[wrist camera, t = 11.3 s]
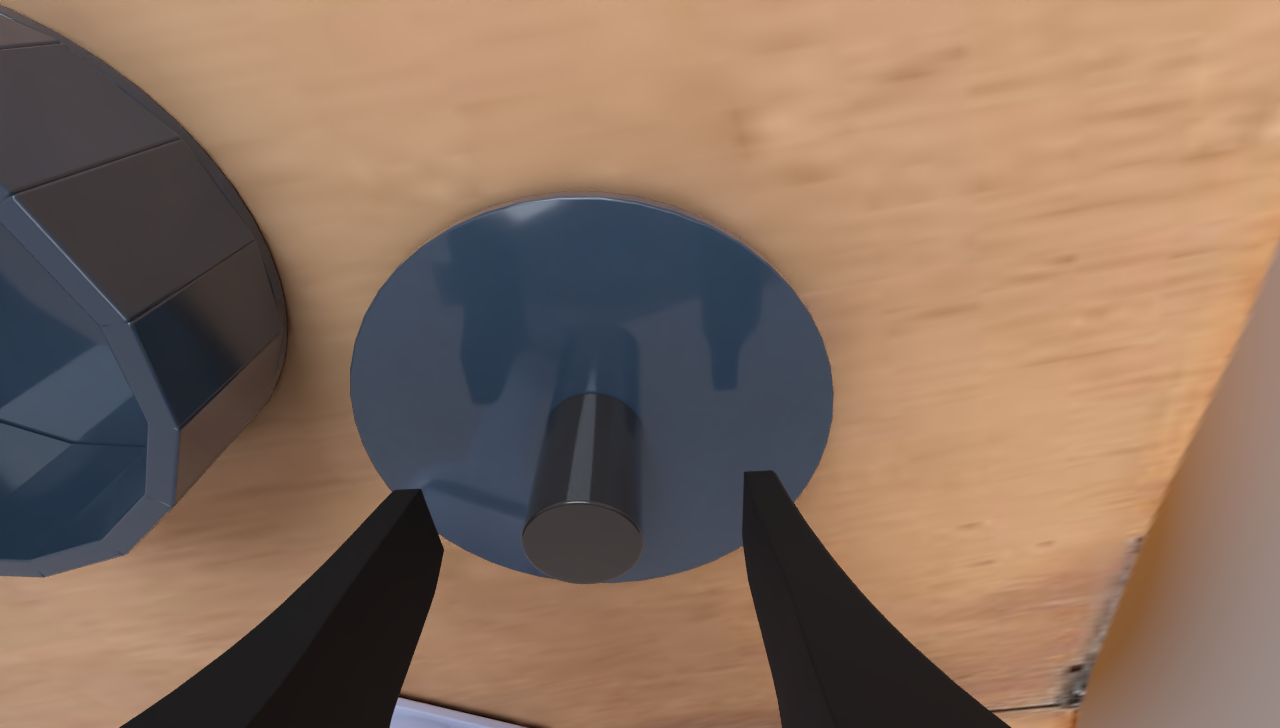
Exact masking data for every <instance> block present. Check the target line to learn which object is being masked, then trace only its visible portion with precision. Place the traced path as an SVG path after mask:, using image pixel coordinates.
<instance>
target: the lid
mask: <svg viewBox="0 0 1280 728" xmlns="http://www.w3.org/2000/svg"><path fill="white" fill-rule="evenodd" d="M350 396H351V401H352V407H353V413H354V419H355V423H356V426H357V429H358V432H359V435H360V438H361V441H362V444H363V446H364V448H365V450H366V452H367V454H368V456H369V458H370V460H371V462H372V464H373V466H374V467H375V469H376V470H377V472H378V473H379V475H380V476H381V478H382V479H383V480H384V482H385V483H386V485H387V486H388V488H389V489H390V490H391V491H392V492H393V491H394V490H401V489H421V490H422V493H423V495H424V498H425V501H426V503H427V506H428V509H429V511H430V514H431V517H432V519H433V522H434V525H435V527H436V530H437V533H438V534H440V535H441V536H442V537H444V538H445V539H447V540H449V541H450V542H452V543H454V544H456V545H457V546H459V547H461V548H463V549H464V550H466V551H468V552H470V553H472V554H475V555H477V556H479V557H481V558H483V559H486V560H488V561H490V562H492V563H495V564H498V565H501V566H504V567H507V568H510V569H513V570H516V571H519V572H523V573H527V574H531V575H535V576H539V577H545V578H551V579H557V580H560V581H564V582H568V583H575V584H595V583H620V582H631V581H642V580H647V579H653V578H659V577H664V576H668V575H672V574H676V573H680V572H683V571H687V570H690V569H693V568H696V567H699V566H701V565H704V564H707V563H709V562H712V561H714V560H716V559H718V558H720V557H722V556H724V555H727V554H729V553H731V552H733V551H735V550H736V549H738V548H740V547H741V546H743V540H742V519H743V488H744V472H748V471H768V470H772V471H774V472H775V473H776V474H777V475H778V477H779V479H780V481H781V483H782V485H783V486H784V488H785V490H786V491H787V493H788V495H789V496H790V498H791V500H792V501H793V503H794V502H795V500H796V499H797V498H798V497H799V495H800V494H801V493H802V491H803V490H804V489H805V487H806V486H807V484H808V483H809V481H810V479H811V477H812V476H813V474H814V472H815V470H816V468H817V467H818V465H819V462H820V460H821V457H822V454H823V452H824V449H825V447H826V444H827V441H828V436H829V431H830V427H831V422H832V417H833V396H834V391H833V382H832V374H831V366H830V362H829V359H828V356H827V352H826V349H825V345H824V342H823V339H822V337H821V335H820V333H819V331H818V329H817V327H816V324H815V322H814V320H813V318H812V316H811V314H810V312H809V310H808V308H807V306H806V305H805V304H804V302H803V301H802V299H801V298H800V296H799V295H798V294H797V292H796V291H795V289H794V288H793V286H792V285H791V284H790V282H789V281H788V280H787V279H786V278H785V277H784V276H783V275H782V274H781V273H780V272H779V270H778V269H777V268H776V267H775V266H774V265H773V264H772V263H771V262H770V261H769V260H768V259H767V258H766V257H765V256H763V255H762V254H761V253H759V252H758V251H757V250H756V249H754V248H753V247H752V246H750V245H749V244H748V243H747V242H745V241H744V240H743V239H741V238H740V237H738V236H737V235H735V234H733V233H731V232H730V231H728V230H726V229H725V228H723V227H721V226H719V225H718V224H716V223H714V222H712V221H711V220H709V219H706V218H704V217H701V216H699V215H696V214H694V213H691V212H689V211H687V210H684V209H682V208H679V207H677V206H674V205H670V204H666V203H662V202H658V201H655V200H651V199H647V198H643V197H639V196H632V195H624V194H616V193H608V192H557V193H549V194H542V195H535V196H528V197H522V198H519V199H515V200H512V201H508V202H505V203H501V204H498V205H494V206H490V207H488V208H485V209H483V210H481V211H478V212H476V213H474V214H472V215H469V216H467V217H465V218H463V219H460V220H458V221H456V222H454V223H453V224H451V225H450V226H448V227H446V228H445V229H443V230H442V231H440V232H439V233H437V234H435V235H434V236H432V237H431V238H429V239H428V240H426V241H425V242H424V243H423V244H422V245H421V246H420V247H418V248H417V249H416V250H415V251H414V252H413V253H412V254H410V255H409V256H408V257H407V258H406V259H405V260H404V261H403V262H402V263H401V264H400V265H399V266H398V268H397V269H396V270H395V271H394V272H393V274H392V275H391V276H390V277H389V278H388V280H387V281H386V282H385V283H384V285H383V286H382V287H381V288H380V289H379V291H378V292H377V294H376V296H375V298H374V299H373V301H372V303H371V305H370V306H369V308H368V310H367V312H366V313H365V315H364V318H363V321H362V323H361V326H360V329H359V332H358V335H357V337H356V340H355V344H354V350H353V356H352V362H351V368H350Z"/></svg>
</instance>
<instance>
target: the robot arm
mask: <svg viewBox="0 0 1280 728" xmlns="http://www.w3.org/2000/svg"><path fill="white" fill-rule="evenodd" d="M742 540H743V547H744V554H745V561H746V568H747V575H748V581H749V585H750V589H751V593H752V597H753V601H754V605H755V609H756V613H757V617H758V621H759V625H760V629H761V633H762V637H763V641H764V645H765V649H766V653H767V657H768V661H769V664H770V668H771V672H772V676H773V680H774V685H775V690H776V695H777V699H778V705H779V711H780V717H781V723H782V728H1011V727H1010V726H1009V725H1007V724H1006V723H1005V722H1003V721H1002V720H1001V719H999V718H998V717H997V716H996V715H994V714H993V713H992V712H990V711H989V710H988V709H987V708H985V707H984V706H983V705H982V704H980V703H979V702H978V701H977V700H976V699H974V698H973V697H972V696H971V695H969V694H968V693H967V692H966V691H965V690H963V689H962V688H961V687H960V686H958V685H957V684H956V683H955V682H954V681H953V680H951V679H950V678H949V677H948V676H947V675H946V674H945V673H944V672H942V671H941V670H940V669H939V668H938V667H937V666H936V665H935V664H934V663H932V662H931V661H930V660H929V659H928V658H927V657H926V656H925V655H923V654H922V653H921V652H920V651H919V650H918V649H917V648H916V647H915V646H913V645H912V644H911V643H910V642H909V641H908V640H907V639H906V638H905V637H904V636H903V635H902V634H901V633H900V632H899V631H898V630H897V629H896V628H895V627H894V626H893V625H892V624H891V623H890V622H889V621H888V620H887V619H886V618H885V617H884V616H883V615H882V614H881V613H880V612H879V611H878V610H877V608H876V607H875V606H874V605H873V604H872V603H871V602H870V601H869V600H868V599H867V598H866V597H865V595H864V594H863V593H862V592H861V591H860V590H859V589H858V588H857V586H856V585H855V584H854V583H853V582H852V581H851V579H850V578H849V577H848V576H847V575H846V573H845V572H844V571H843V570H842V569H841V567H840V566H839V565H838V564H837V562H836V561H835V560H834V559H833V557H832V556H831V555H830V554H829V552H828V551H827V550H826V548H825V547H824V546H823V544H822V543H821V541H820V540H819V539H818V537H817V536H816V535H815V533H814V532H813V531H812V529H811V528H810V526H809V525H808V524H807V522H806V521H805V519H804V518H803V516H802V515H801V513H800V512H799V510H798V509H797V507H796V506H795V504H794V503H793V501H792V500H791V498H790V496H789V495H788V493H787V491H786V490H785V488H784V486H783V485H782V483H781V481H780V479H779V477H778V475H777V474H776V473H775V472H774V471H772V470H768V471H748V472H744V488H743V519H742ZM443 552H444V549H443V546H442V543H441V541H440V538H439V535H438V533H437V530H436V527H435V525H434V522H433V519H432V517H431V514H430V511H429V509H428V506H427V503H426V501H425V498H424V495H423V493H422V490H421V489H401V490H394V491H393V492H392V493H391V494H390V495H389V496H388V497H387V498H386V499H385V500H384V501H383V502H382V503H381V504H380V505H379V506H378V507H377V508H376V510H375V511H374V512H373V513H372V514H371V515H370V516H369V517H368V518H367V519H366V520H365V521H364V522H363V523H362V524H361V526H360V527H359V528H358V529H357V530H356V531H355V532H354V533H353V534H352V535H351V536H350V537H349V538H348V539H347V540H346V541H345V542H344V543H343V544H342V546H341V547H340V548H339V549H338V550H337V551H336V552H335V553H334V554H333V555H332V556H331V557H330V558H329V559H328V560H327V561H326V562H325V563H324V564H323V565H322V566H321V567H320V568H319V569H318V570H317V571H316V572H315V573H314V574H313V575H312V576H311V577H310V578H309V579H308V580H307V581H305V582H304V583H303V584H302V585H301V586H300V587H299V588H298V589H297V590H296V591H295V592H294V593H293V594H292V595H291V596H290V597H289V598H288V599H287V600H286V601H285V602H284V603H283V604H281V605H280V606H279V607H278V608H277V609H276V610H275V611H274V612H273V613H271V614H270V615H269V616H268V617H267V618H266V619H265V620H263V621H262V622H261V623H260V624H259V625H258V626H256V627H255V628H254V629H253V630H252V631H250V632H249V633H248V634H247V635H246V636H244V637H243V638H242V639H241V640H240V641H238V642H237V643H236V644H235V645H233V646H232V647H231V648H230V649H228V650H227V651H226V652H225V653H223V654H222V655H221V656H219V657H218V658H217V659H215V660H214V661H213V662H211V663H210V664H209V665H207V666H206V667H205V668H203V669H202V670H201V671H199V672H198V673H197V674H195V675H194V676H193V677H191V678H190V679H189V680H187V681H186V682H185V683H183V684H182V685H181V686H179V687H178V688H177V689H175V690H174V691H173V692H171V693H170V694H168V695H167V696H165V697H164V698H163V699H161V700H160V701H158V702H157V703H155V704H154V705H152V706H151V707H149V708H148V709H147V710H145V711H144V712H142V713H141V714H139V715H138V716H136V717H135V718H133V719H132V720H130V721H129V722H127V723H125V724H124V725H122V726H121V727H119V728H528V727H523V726H519V725H515V724H511V723H506V722H502V721H498V720H494V719H489V718H485V717H481V716H477V715H472V714H468V713H464V712H460V711H455V710H451V709H447V708H443V707H439V706H434V705H430V704H426V703H422V702H417V701H413V700H409V699H405V698H400V697H399V693H400V691H401V688H402V685H403V682H404V679H405V677H406V674H407V671H408V668H409V665H410V663H411V660H412V657H413V654H414V651H415V649H416V646H417V643H418V640H419V637H420V635H421V632H422V629H423V626H424V623H425V620H426V617H427V615H428V612H429V609H430V606H431V603H432V600H433V597H434V594H435V590H436V585H437V581H438V577H439V572H440V567H441V562H442V557H443Z"/></svg>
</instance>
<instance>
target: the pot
mask: <svg viewBox="0 0 1280 728" xmlns="http://www.w3.org/2000/svg"><path fill="white" fill-rule="evenodd" d="M286 342H287V319H286V306H285V301H284V297H283V292H282V288H281V283H280V279H279V276H278V273H277V271H276V268H275V265H274V262H273V260H272V257H271V254H270V251H269V249H268V247H267V245H266V243H265V241H264V239H263V237H262V235H261V233H260V231H259V229H258V227H257V225H256V223H255V221H254V219H253V217H252V216H251V214H250V212H249V211H248V209H247V208H246V206H245V205H244V203H243V202H242V200H241V199H240V197H239V195H238V194H237V192H236V191H235V189H234V188H233V186H232V185H231V183H230V182H229V181H228V180H227V178H226V177H225V176H224V175H223V173H222V172H221V171H220V169H219V168H218V167H217V166H216V164H215V163H214V162H213V161H212V159H211V158H210V157H209V156H208V154H207V153H206V152H205V151H204V150H203V149H202V148H201V147H200V146H199V145H198V143H197V142H196V141H195V140H194V139H193V138H192V137H191V136H190V135H189V134H188V133H187V132H186V131H185V130H184V129H183V128H182V127H181V126H180V124H179V123H178V122H177V121H176V120H175V119H174V118H172V117H171V116H170V115H169V114H168V113H167V112H166V111H165V110H163V109H162V108H161V107H160V106H159V105H158V104H157V103H156V102H154V101H153V100H152V99H151V98H150V97H149V96H148V95H146V94H145V93H144V92H143V91H142V90H141V89H140V88H138V87H137V86H136V85H134V84H133V83H132V82H130V81H129V80H128V79H126V78H125V77H124V76H122V75H121V74H120V73H118V72H117V71H116V70H114V69H113V68H111V67H110V66H109V65H107V64H106V63H105V62H103V61H102V60H101V59H99V58H98V57H96V56H94V55H93V54H91V53H90V52H88V51H86V50H85V49H83V48H81V47H80V46H78V45H77V44H75V43H73V42H72V41H70V40H69V39H67V38H65V37H64V36H62V35H60V34H59V33H57V32H55V31H53V30H51V29H49V28H47V27H45V26H43V25H41V24H39V23H37V22H35V21H33V20H31V19H29V18H27V17H25V16H23V15H21V14H19V13H17V12H15V11H13V10H11V9H9V8H6V7H3V6H1V5H0V576H20V577H46V576H51V575H55V574H59V573H62V572H66V571H70V570H73V569H77V568H80V567H84V566H88V565H91V564H95V563H99V562H102V561H106V560H109V559H113V558H117V557H120V556H123V555H125V554H127V553H129V552H130V551H131V550H132V549H133V548H134V547H135V546H136V545H137V544H138V543H139V542H140V541H141V540H142V539H143V538H144V537H145V536H146V535H147V534H148V533H149V532H150V531H151V530H152V529H153V528H154V527H155V526H156V525H157V523H158V522H159V521H160V520H161V519H162V518H163V517H164V516H165V515H166V514H167V513H168V512H169V511H170V510H171V509H172V508H173V507H174V506H175V505H176V504H177V503H178V502H179V501H180V499H181V498H182V497H183V496H184V495H185V494H186V493H187V492H188V490H189V489H190V488H191V487H192V486H193V485H194V484H195V483H196V482H197V480H198V479H199V478H200V477H201V476H202V475H203V474H204V473H205V471H206V470H207V469H208V468H209V467H210V466H211V465H212V464H213V463H214V461H215V460H216V459H217V458H218V457H219V456H220V455H221V454H222V452H223V451H224V450H225V449H226V448H227V447H228V446H229V445H230V444H231V442H232V441H233V440H234V439H235V438H236V437H237V436H238V435H239V433H240V432H241V431H242V430H243V429H244V428H245V427H246V426H247V424H248V423H249V422H250V421H251V420H252V419H253V418H254V417H255V416H256V414H257V413H258V412H259V411H260V410H261V409H262V408H263V407H264V405H265V404H266V403H267V402H268V401H269V400H270V397H271V394H272V390H273V389H274V387H275V385H276V383H277V381H278V379H279V376H280V373H281V369H282V366H283V362H284V359H285V352H286Z"/></svg>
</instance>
